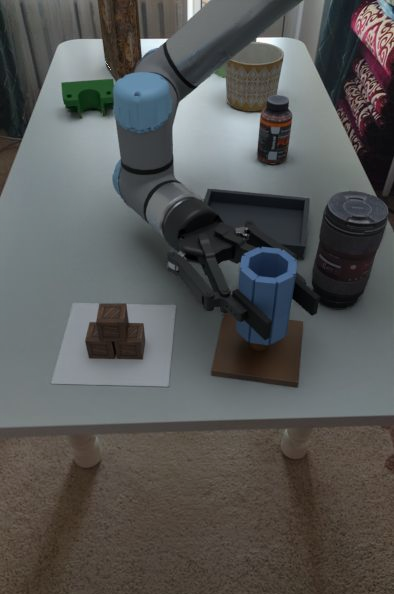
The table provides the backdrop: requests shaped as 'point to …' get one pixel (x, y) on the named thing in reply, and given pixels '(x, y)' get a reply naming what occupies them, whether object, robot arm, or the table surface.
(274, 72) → the planter
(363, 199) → the camera lens
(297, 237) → the tray
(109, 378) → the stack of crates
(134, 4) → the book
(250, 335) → the sleeve
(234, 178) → the table surface
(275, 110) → the supplement bottle
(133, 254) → the table surface
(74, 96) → the clamp
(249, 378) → the dowel stand
